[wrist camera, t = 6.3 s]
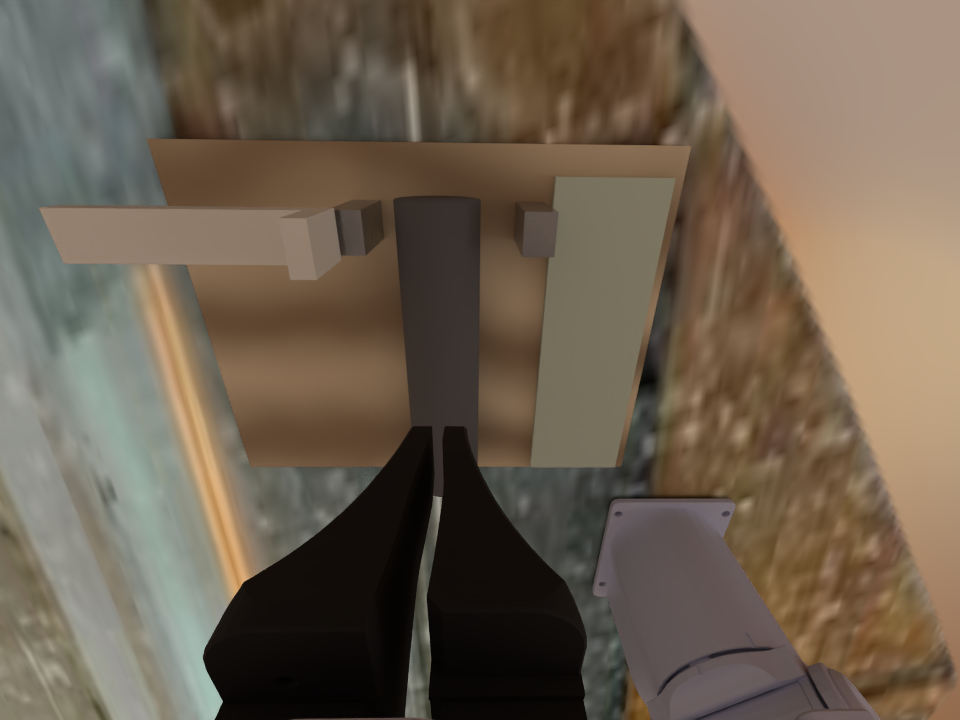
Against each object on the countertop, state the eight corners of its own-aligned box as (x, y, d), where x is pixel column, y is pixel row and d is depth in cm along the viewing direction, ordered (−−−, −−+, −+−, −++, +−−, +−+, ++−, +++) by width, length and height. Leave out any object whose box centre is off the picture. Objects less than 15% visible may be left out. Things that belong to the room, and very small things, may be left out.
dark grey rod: (482, 457, 23) (470, 501, 20) (425, 449, 24) (406, 491, 21) (487, 197, 17) (471, 205, 14) (410, 194, 18) (378, 202, 15)
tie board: (618, 459, 25) (642, 512, 21) (255, 460, 24) (217, 513, 21) (684, 146, 17) (741, 144, 14) (157, 139, 17) (69, 134, 13)
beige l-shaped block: (341, 260, 15) (316, 280, 12) (84, 257, 15) (10, 277, 12) (333, 207, 14) (305, 218, 12) (60, 204, 14) (-22, 215, 11)
